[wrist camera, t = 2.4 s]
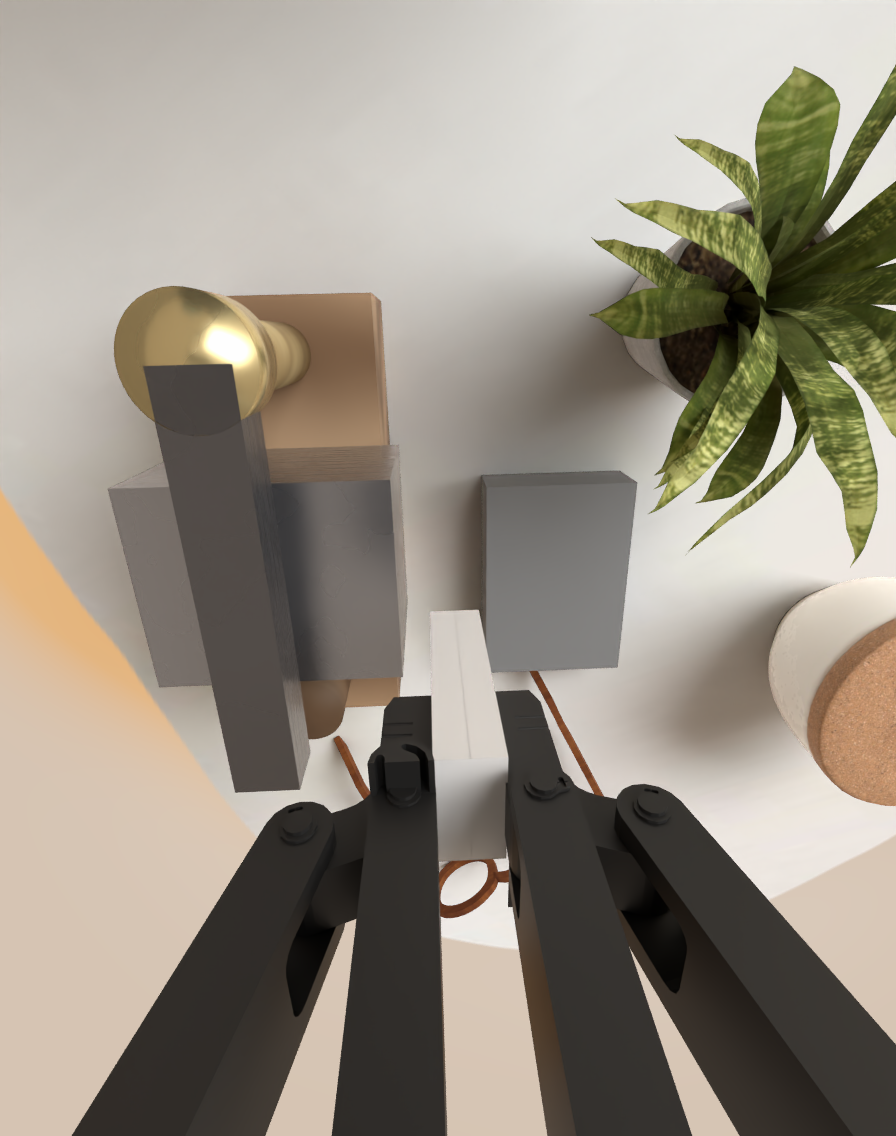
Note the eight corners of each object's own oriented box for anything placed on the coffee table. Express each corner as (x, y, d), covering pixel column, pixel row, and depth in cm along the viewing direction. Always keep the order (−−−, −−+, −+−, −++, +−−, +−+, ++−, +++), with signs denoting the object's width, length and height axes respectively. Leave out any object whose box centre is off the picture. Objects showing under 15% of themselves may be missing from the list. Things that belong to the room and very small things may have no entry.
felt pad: (481, 475, 28) (486, 487, 26) (619, 470, 28) (637, 482, 26) (481, 648, 32) (486, 672, 30) (603, 643, 32) (617, 667, 30)
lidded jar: (729, 722, 35) (830, 850, 26) (738, 563, 31) (862, 652, 22) (903, 697, 34) (1064, 818, 26) (936, 534, 30) (1140, 612, 22)
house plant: (456, 191, 24) (510, -68, 8) (782, 31, 22) (1566, -643, 7) (563, 495, 29) (716, 669, 14) (833, 383, 27) (1346, 440, 12)
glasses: (435, 866, 39) (437, 937, 34) (333, 733, 34) (319, 794, 30) (610, 792, 37) (637, 857, 32) (527, 641, 32) (544, 691, 28)
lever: (135, 293, 14) (97, 287, 12) (267, 290, 14) (247, 284, 12) (233, 755, 19) (216, 793, 17) (328, 751, 19) (319, 788, 18)
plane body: (222, 304, 25) (59, 278, 14) (380, 301, 25) (345, 271, 14) (278, 656, 32) (199, 828, 21) (402, 651, 32) (390, 819, 21)
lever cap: (186, 451, 22) (107, 488, 17) (398, 444, 23) (390, 479, 17) (218, 609, 25) (159, 686, 19) (407, 602, 25) (402, 677, 20)
